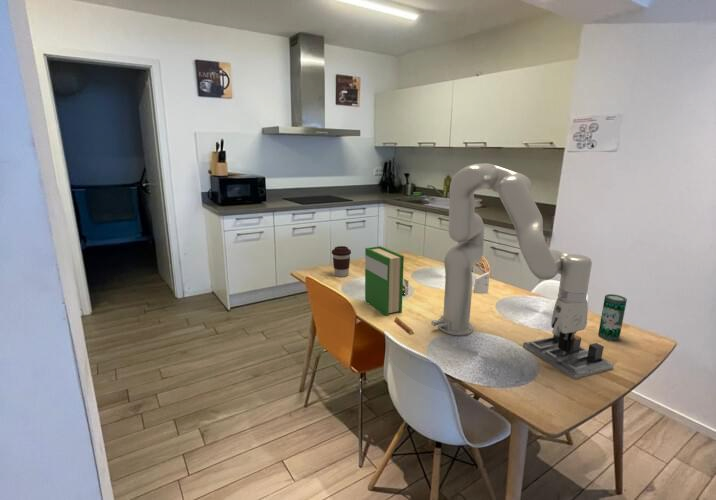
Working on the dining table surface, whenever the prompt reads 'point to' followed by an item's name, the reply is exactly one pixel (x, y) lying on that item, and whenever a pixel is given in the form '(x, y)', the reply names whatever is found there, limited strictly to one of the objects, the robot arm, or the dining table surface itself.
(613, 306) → the can
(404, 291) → the architectural model
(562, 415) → the dining table surface
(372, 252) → the hardback book
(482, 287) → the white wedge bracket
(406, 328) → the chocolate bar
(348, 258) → the coffee cup
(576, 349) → the block
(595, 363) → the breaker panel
